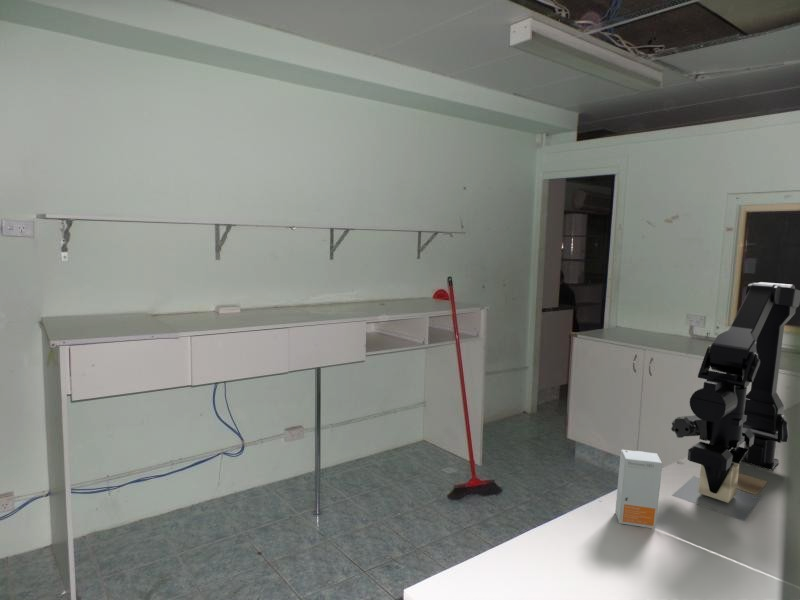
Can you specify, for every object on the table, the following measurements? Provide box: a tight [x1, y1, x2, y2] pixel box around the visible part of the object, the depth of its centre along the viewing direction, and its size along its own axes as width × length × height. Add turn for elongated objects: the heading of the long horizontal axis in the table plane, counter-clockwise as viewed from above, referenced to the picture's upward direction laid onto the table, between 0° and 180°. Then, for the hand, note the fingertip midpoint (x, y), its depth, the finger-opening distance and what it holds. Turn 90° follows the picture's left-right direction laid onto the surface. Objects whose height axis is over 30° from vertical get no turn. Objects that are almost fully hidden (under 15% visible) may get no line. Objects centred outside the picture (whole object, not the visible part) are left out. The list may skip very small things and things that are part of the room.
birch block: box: [698, 462, 740, 503], centre depth 100 cm, size 5×5×6 cm
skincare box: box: [615, 449, 663, 530], centre depth 91 cm, size 6×4×12 cm
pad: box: [737, 472, 768, 496], centre depth 107 cm, size 8×8×1 cm
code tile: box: [671, 475, 763, 522], centre depth 101 cm, size 12×12×1 cm
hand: (717, 487), depth 101 cm, fingers closed on birch block, 5 cm apart
